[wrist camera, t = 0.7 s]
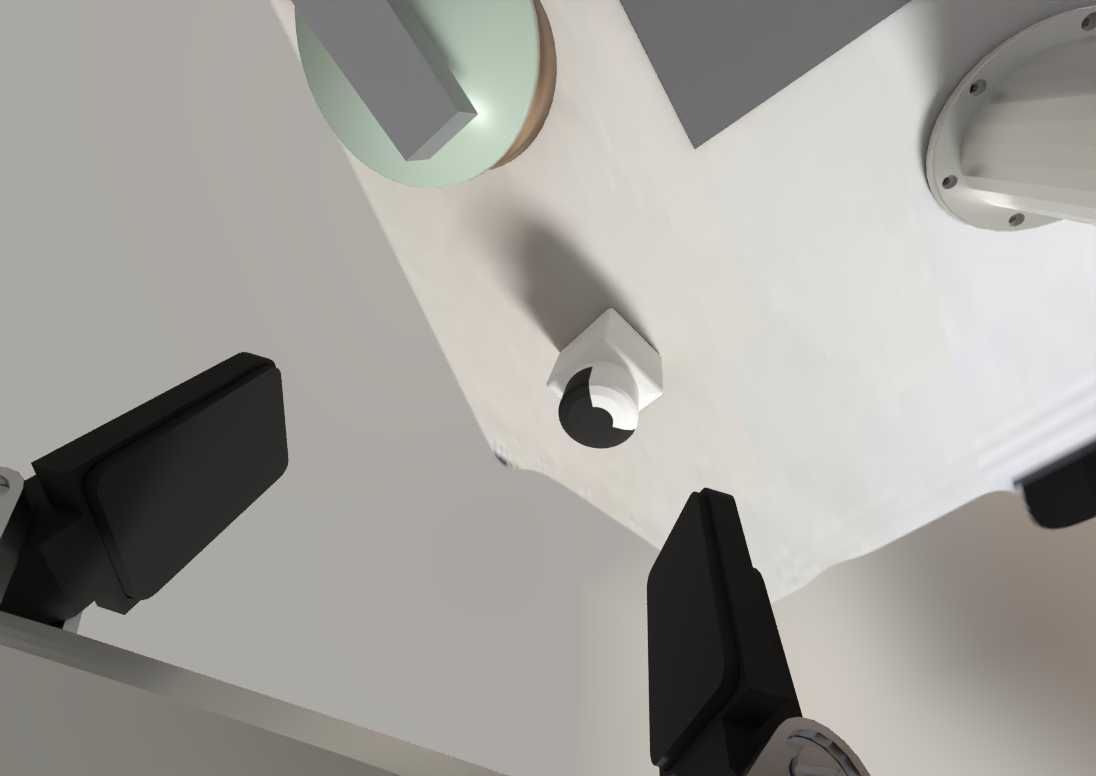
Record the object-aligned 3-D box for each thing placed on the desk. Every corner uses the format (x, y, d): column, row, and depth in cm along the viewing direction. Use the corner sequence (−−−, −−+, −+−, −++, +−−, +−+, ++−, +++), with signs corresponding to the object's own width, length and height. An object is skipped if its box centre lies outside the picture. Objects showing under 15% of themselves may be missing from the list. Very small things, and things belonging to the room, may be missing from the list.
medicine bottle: (608, 399, 46) (595, 474, 36) (558, 352, 45) (530, 416, 35) (663, 357, 43) (666, 426, 33) (611, 304, 42) (597, 359, 31)
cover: (428, -202, 23) (347, -324, 17) (588, 86, 27) (569, 72, 21) (267, 24, 29) (167, -5, 23) (418, 228, 34) (366, 248, 28)
